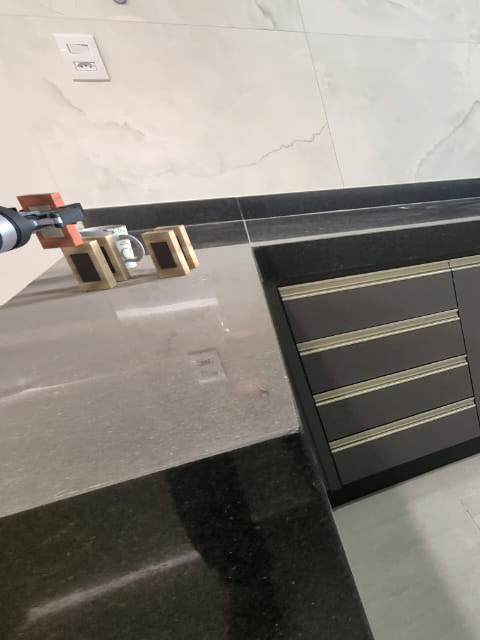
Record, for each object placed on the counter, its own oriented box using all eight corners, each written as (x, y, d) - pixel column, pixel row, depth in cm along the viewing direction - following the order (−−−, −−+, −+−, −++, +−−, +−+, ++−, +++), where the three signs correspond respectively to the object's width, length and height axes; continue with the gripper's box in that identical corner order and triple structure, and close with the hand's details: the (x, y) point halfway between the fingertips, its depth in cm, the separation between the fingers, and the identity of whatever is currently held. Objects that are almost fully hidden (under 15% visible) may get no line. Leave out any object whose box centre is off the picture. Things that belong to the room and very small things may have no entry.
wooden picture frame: (159, 278, 121) (140, 234, 117) (175, 268, 130) (157, 227, 125) (185, 275, 123) (167, 231, 118) (199, 265, 131) (183, 224, 127)
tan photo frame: (82, 292, 113) (58, 245, 109) (104, 280, 121) (83, 236, 117) (111, 288, 114) (89, 242, 110) (131, 277, 123) (111, 234, 119)
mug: (120, 264, 136) (102, 225, 131) (167, 263, 135) (150, 223, 131) (89, 273, 128) (68, 232, 124) (138, 271, 128) (119, 230, 123)
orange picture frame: (42, 249, 103) (15, 196, 99) (52, 246, 106) (25, 194, 101) (75, 246, 105) (49, 194, 100) (83, 243, 107) (59, 192, 103)
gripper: (-74, 260, 86) (14, 234, 106) (68, 246, 92) (126, 224, 112) (-103, 213, 83) (-7, 195, 102) (46, 202, 89) (110, 187, 108)
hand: (62, 211), depth 107 cm, fingers closed on orange picture frame, 5 cm apart
